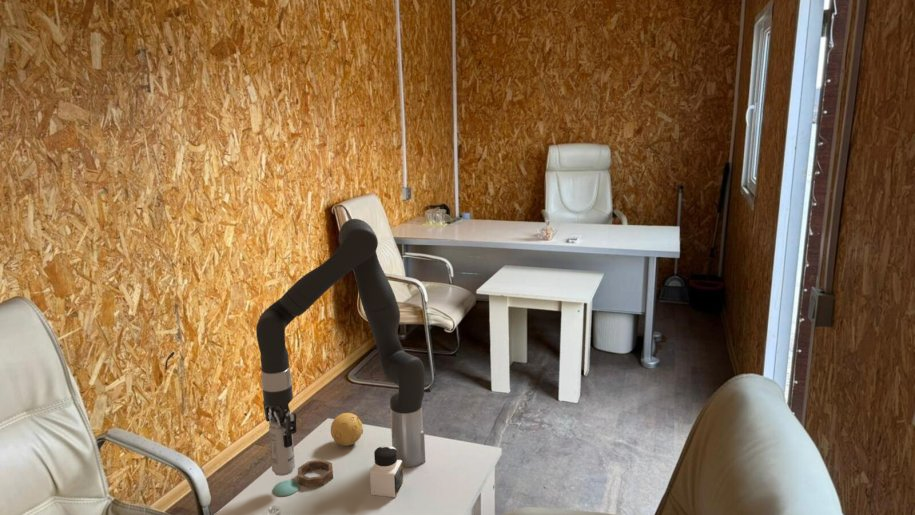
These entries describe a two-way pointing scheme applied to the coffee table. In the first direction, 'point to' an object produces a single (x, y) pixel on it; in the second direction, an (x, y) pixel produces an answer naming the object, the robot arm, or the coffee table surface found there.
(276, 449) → the energy drink can
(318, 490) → the coffee table surface
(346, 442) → the stress ball
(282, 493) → the coaster
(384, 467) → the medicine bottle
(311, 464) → the collar
